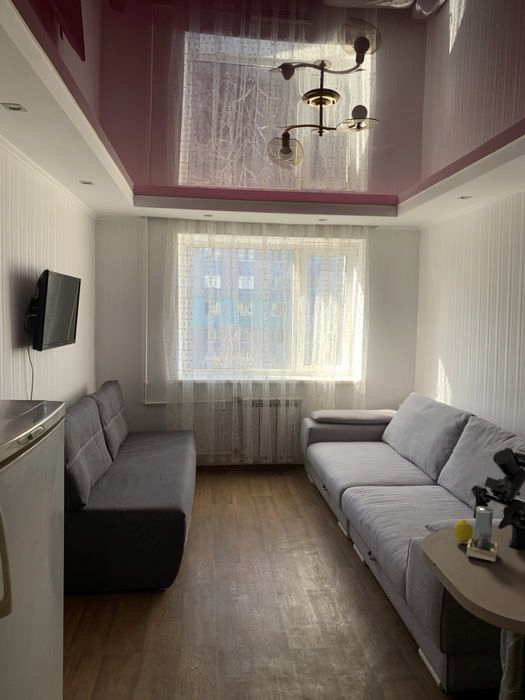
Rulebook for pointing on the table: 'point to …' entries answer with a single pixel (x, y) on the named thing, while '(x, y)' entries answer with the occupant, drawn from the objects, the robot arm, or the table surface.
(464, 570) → the table surface
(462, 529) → the lemon
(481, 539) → the canister
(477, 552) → the square wooden tray
